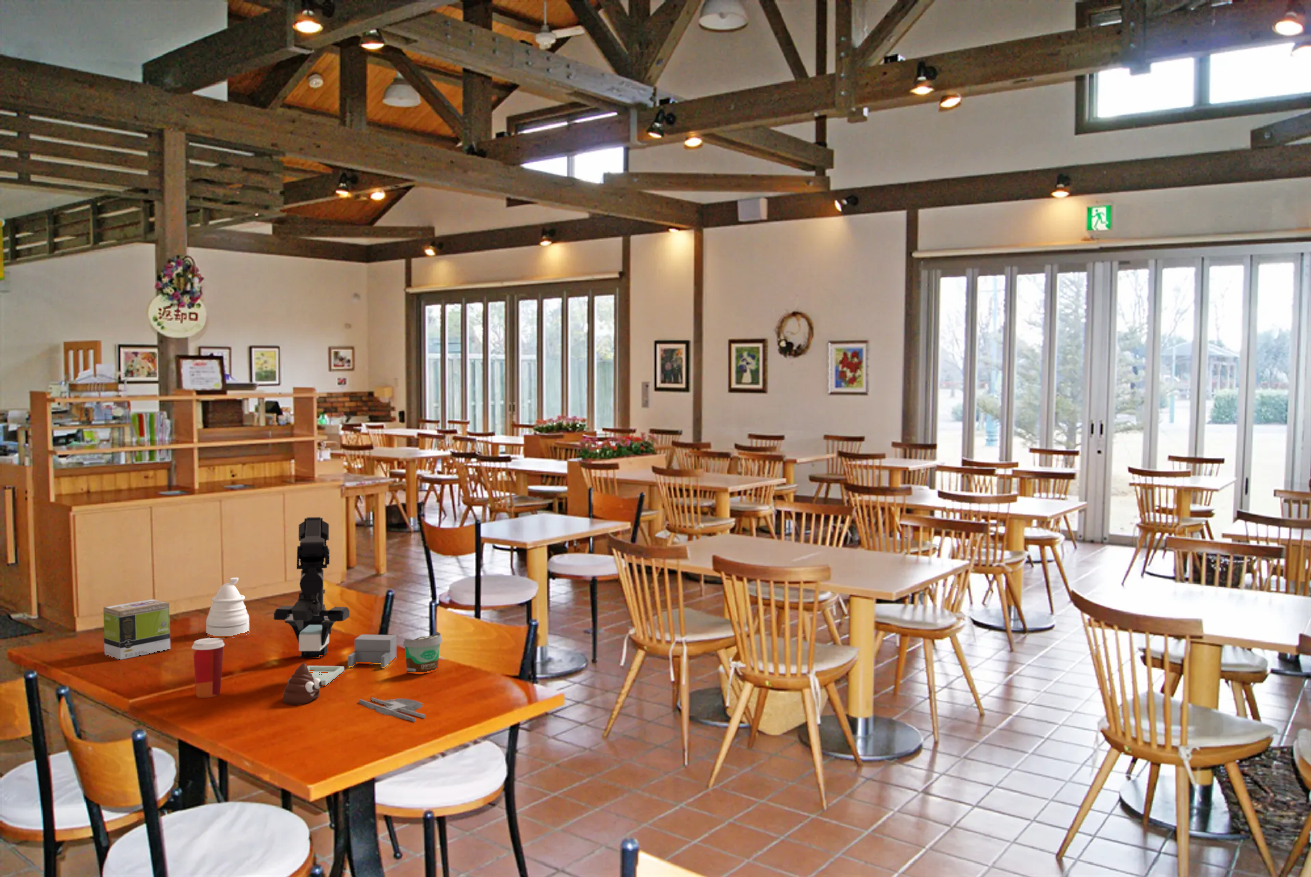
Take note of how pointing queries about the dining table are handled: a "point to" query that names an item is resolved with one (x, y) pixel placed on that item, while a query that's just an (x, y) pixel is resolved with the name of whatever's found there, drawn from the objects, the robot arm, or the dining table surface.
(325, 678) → the tray
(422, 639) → the food container
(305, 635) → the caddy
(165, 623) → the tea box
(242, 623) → the honey pot
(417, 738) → the dining table surface
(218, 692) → the paper cup
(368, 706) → the grey toy spaceship
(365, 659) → the bay
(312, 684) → the poop emoji
